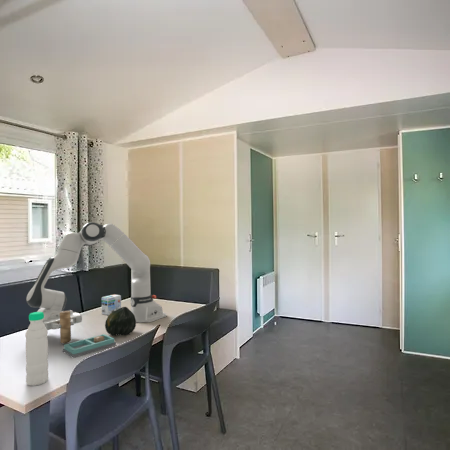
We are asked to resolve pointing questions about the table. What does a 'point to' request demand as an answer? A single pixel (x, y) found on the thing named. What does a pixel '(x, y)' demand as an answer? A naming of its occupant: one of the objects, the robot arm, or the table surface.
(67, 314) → the oak post
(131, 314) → the squash
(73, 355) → the housing plate
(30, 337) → the water bottle
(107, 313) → the light bulb box
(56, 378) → the table surface
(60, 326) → the robot arm
